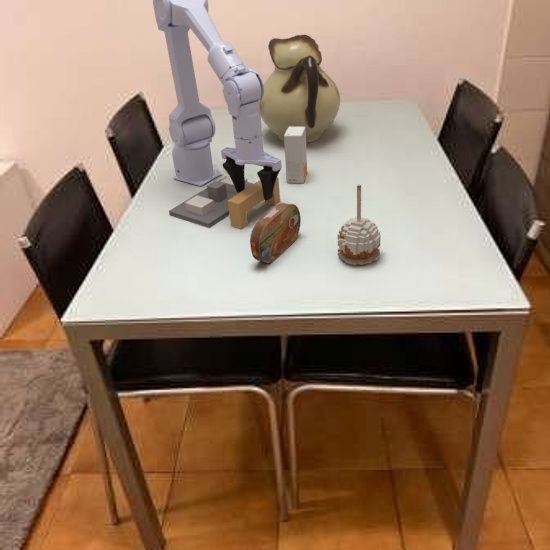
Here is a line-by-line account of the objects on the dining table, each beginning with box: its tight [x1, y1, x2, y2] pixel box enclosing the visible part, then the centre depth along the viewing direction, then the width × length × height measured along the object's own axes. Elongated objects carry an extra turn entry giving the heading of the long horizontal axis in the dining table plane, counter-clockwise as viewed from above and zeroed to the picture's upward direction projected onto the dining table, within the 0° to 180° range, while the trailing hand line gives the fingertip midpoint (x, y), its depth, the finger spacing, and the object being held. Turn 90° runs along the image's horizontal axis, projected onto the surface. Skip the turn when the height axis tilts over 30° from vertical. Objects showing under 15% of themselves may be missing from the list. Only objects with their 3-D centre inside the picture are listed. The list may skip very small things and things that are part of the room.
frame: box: [228, 176, 281, 230], centre depth 130 cm, size 3×14×6 cm, turn 144°
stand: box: [168, 175, 255, 228], centre depth 136 cm, size 12×20×4 cm, turn 144°
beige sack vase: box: [259, 34, 341, 144], centre depth 160 cm, size 22×24×25 cm
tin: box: [249, 202, 302, 264], centre depth 116 cm, size 15×3×8 cm, turn 148°
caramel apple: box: [336, 184, 382, 266], centre depth 110 cm, size 8×8×15 cm
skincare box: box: [283, 127, 308, 184], centre depth 141 cm, size 6×4×12 cm
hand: (254, 194), depth 129 cm, fingers open, 7 cm apart
